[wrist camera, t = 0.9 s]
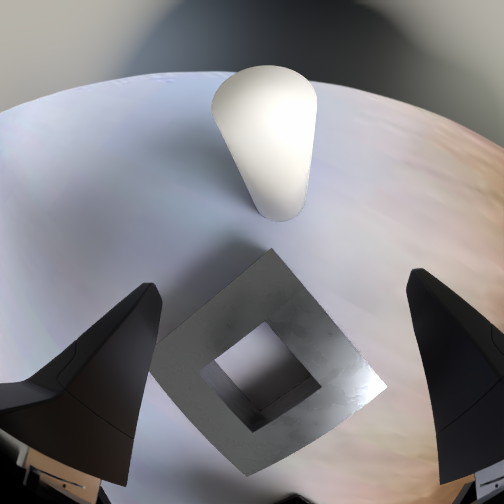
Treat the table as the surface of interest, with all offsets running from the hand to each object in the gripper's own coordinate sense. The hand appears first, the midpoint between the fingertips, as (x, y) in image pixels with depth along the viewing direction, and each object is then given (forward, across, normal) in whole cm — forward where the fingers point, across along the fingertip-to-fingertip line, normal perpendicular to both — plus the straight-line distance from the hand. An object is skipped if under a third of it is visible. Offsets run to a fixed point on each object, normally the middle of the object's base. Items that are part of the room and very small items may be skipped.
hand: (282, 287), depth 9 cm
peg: (+15, 0, +4) cm, 15 cm away
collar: (+5, +2, +14) cm, 15 cm away
